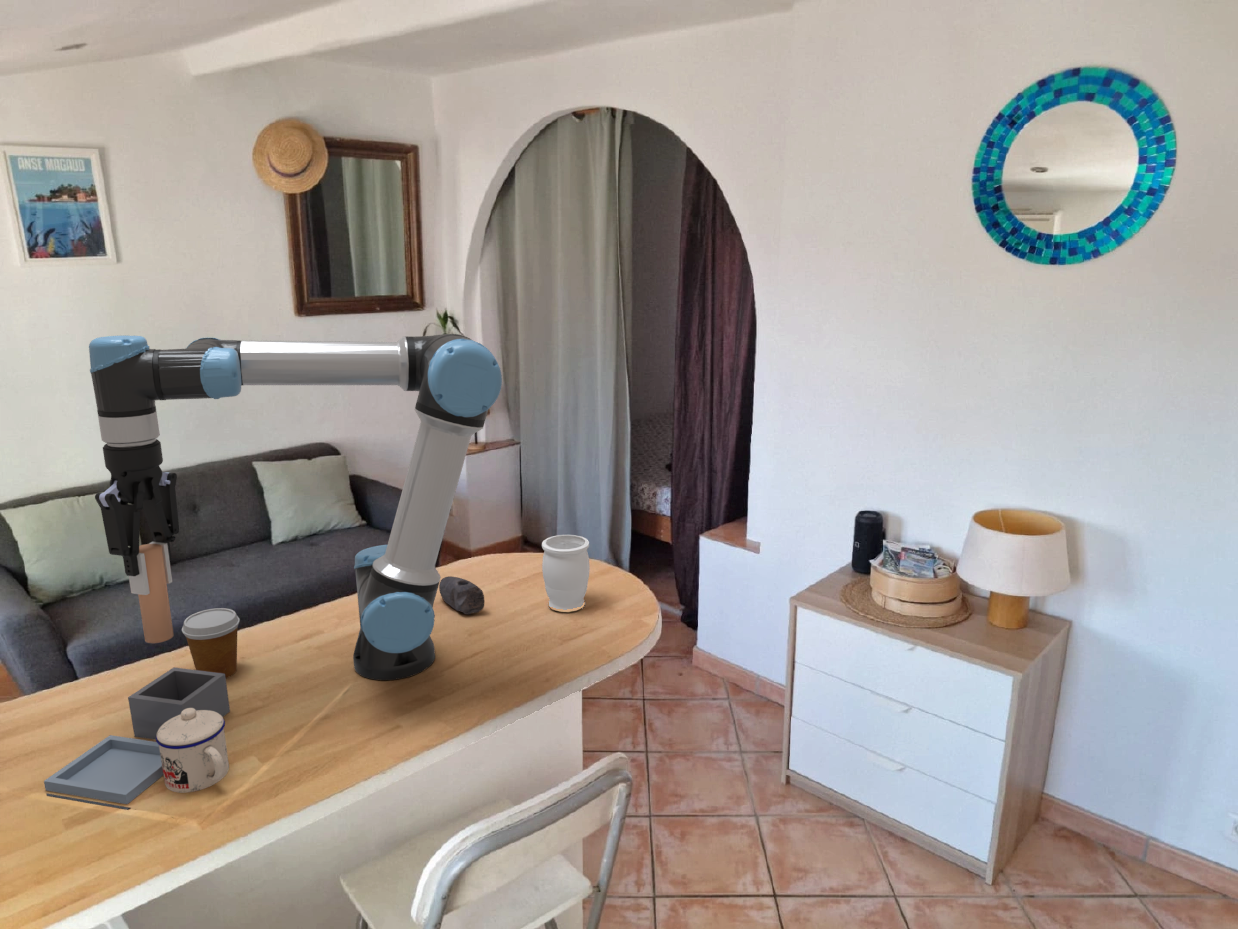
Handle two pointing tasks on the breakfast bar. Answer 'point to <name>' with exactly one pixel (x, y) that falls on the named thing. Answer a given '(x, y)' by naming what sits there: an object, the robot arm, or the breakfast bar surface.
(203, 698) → the open square box
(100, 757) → the tray
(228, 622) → the disposable coffee cup
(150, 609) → the dowel
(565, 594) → the jar
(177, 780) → the teacup with lid
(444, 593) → the perforated stone tool
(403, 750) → the breakfast bar surface
